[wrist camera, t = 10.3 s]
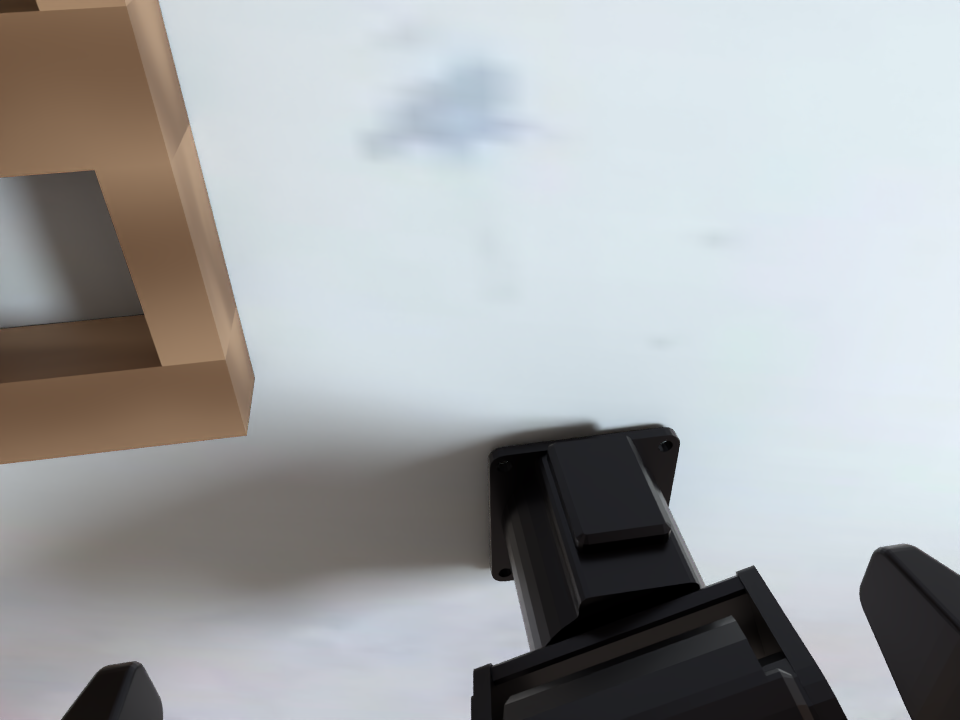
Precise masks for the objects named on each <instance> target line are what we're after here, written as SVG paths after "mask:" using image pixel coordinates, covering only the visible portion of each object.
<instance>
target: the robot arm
mask: <svg viewBox="0 0 960 720" xmlns="http://www.w3.org/2000/svg"><path fill="white" fill-rule="evenodd" d="M664 441H666V442H665V443H662V442H664ZM661 443H662V444H661ZM679 447H680V440H679V438H678V437H677V435H676V433H675V431H674V430H673V429H671V428H669V427H662V428H654V429H646V430H638V431H629V432H621V433H613V434H605V435H597V436H589V437H581V438H573V439H564V440H556V441H548V442H540V443H532V444H524V445H516V446H508V447H501V448H497V449H495V450H494V451H492V452H491V453H490V455H489V456H488V498H489V538H490V568H491V573H492V576H493V578H494V579H495V580H497V581H510V580H514V581H515V586H516V590H517V594H518V599H519V603H520V608H521V612H522V616H523V621H524V625H525V629H526V634H527V638H528V643H529V647H530V651H531V652H528V653H526V654H523V655H520V656H518V657H515V658H512V659H510V660H507V661H504V662H501V663H499V664H496V665H492V664H491V663H490V664H487V665H484V666H482V667H479V668H476V669H474V671H473V696H472V697H471V720H847V718H846V716H845V714H844V712H843V710H842V708H841V706H840V704H839V702H838V700H837V698H836V696H835V695H834V693H833V691H832V689H831V687H830V686H829V684H828V682H827V680H826V679H825V677H824V675H823V674H822V672H821V670H820V669H819V667H818V665H817V664H816V662H815V660H814V659H813V657H812V656H811V654H810V653H809V651H808V649H807V648H806V646H805V645H804V643H803V642H802V640H801V638H800V637H799V635H798V634H797V632H796V631H795V629H794V628H793V626H792V624H791V623H790V621H789V620H788V618H787V617H786V615H785V613H784V612H783V610H782V609H781V607H780V606H779V604H778V602H777V601H776V599H775V598H774V596H773V595H772V593H771V591H770V590H769V588H768V587H767V585H766V584H765V582H764V580H763V579H762V577H761V576H760V574H759V573H758V571H757V569H756V568H755V566H754V565H753V566H751V567H748V568H745V569H742V570H740V571H737V572H736V576H733V577H730V578H728V579H725V580H722V581H720V582H717V583H714V584H712V585H709V586H705V584H704V582H703V579H702V577H701V575H700V573H699V571H698V569H697V567H696V565H695V562H694V560H693V558H692V556H691V554H690V552H689V550H688V548H687V545H686V543H685V541H684V539H683V537H682V535H681V533H680V531H679V528H678V526H677V524H676V522H675V520H674V518H673V516H672V514H671V511H670V509H669V502H670V496H671V491H672V485H673V480H674V474H675V469H676V463H677V458H678V452H679ZM503 461H508V462H506V463H503V464H499V463H500V462H503ZM859 595H860V601H861V605H862V608H863V610H864V613H865V615H866V617H867V619H868V622H869V624H870V626H871V629H872V631H873V633H874V635H875V638H876V640H877V642H878V645H879V647H880V649H881V652H882V654H883V656H884V658H885V661H886V663H887V665H888V668H889V670H890V672H891V675H892V677H893V679H894V681H895V684H896V686H897V688H898V691H899V693H900V695H901V697H902V700H903V702H904V704H905V706H906V709H907V711H908V713H909V715H910V717H911V719H912V720H960V575H959V574H957V573H956V572H954V571H953V570H951V569H950V568H948V567H947V566H945V565H943V564H942V563H940V562H939V561H937V560H936V559H934V558H933V557H931V556H929V555H928V554H926V553H925V552H923V551H922V550H920V549H918V548H917V547H915V546H912V545H909V544H898V545H891V546H885V547H880V548H878V549H876V550H875V551H874V552H873V554H872V556H871V559H870V562H869V564H868V567H867V569H866V572H865V575H864V577H863V580H862V582H861V585H860V592H859ZM61 720H163V707H162V702H161V699H160V696H159V694H158V693H157V691H156V689H155V687H154V685H153V683H152V681H151V679H150V678H149V676H148V674H147V672H146V670H145V668H144V667H143V665H142V664H140V663H139V662H137V661H133V662H126V663H119V664H113V665H108V666H105V667H103V668H102V669H100V670H99V671H98V672H97V673H96V674H95V675H94V676H93V678H92V679H91V680H90V682H89V683H88V684H87V686H86V687H85V688H84V690H83V691H82V692H81V694H80V695H79V696H78V698H77V699H76V700H75V702H74V703H73V704H72V706H71V707H70V708H69V710H68V711H67V712H66V714H65V715H64V716H63V718H62V719H61Z"/></svg>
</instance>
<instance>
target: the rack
mask: <svg viewBox="0 0 960 720" xmlns="http://www.w3.org/2000/svg"><path fill="white" fill-rule="evenodd" d="M90 170H95V173H96V176H97V179H98V182H99V185H100V188H101V191H102V194H103V196H104V199H105V202H106V205H107V208H108V211H109V214H110V217H111V220H112V223H113V225H114V228H115V231H116V234H117V237H118V240H119V243H120V246H121V249H122V252H123V254H124V257H125V260H126V263H127V266H128V269H129V272H130V275H131V278H132V281H133V283H134V286H135V289H136V292H137V295H138V298H139V301H140V304H141V307H142V310H143V312H144V315H136V316H126V317H115V318H105V319H95V320H85V321H75V322H65V323H55V324H45V325H35V326H25V327H14V328H4V329H0V464H7V463H16V462H24V461H33V460H42V459H50V458H59V457H67V456H76V455H84V454H93V453H101V452H110V451H118V450H127V449H135V448H144V447H152V446H161V445H170V444H178V443H187V442H195V441H204V440H212V439H221V438H229V437H238V436H246V435H247V430H248V423H249V416H250V408H251V401H252V394H253V387H254V380H255V377H254V373H253V369H252V365H251V361H250V357H249V354H248V350H247V346H246V342H245V338H244V334H243V330H242V326H241V322H240V318H239V314H238V311H237V307H236V303H235V299H234V295H233V291H232V287H231V283H230V279H229V275H228V271H227V268H226V264H225V260H224V256H223V252H222V248H221V244H220V240H219V236H218V232H217V229H216V225H215V221H214V217H213V213H212V209H211V205H210V201H209V197H208V193H207V189H206V186H205V182H204V178H203V174H202V170H201V166H200V162H199V158H198V154H197V150H196V146H195V143H194V139H193V135H192V131H191V127H190V123H189V119H188V115H187V111H186V107H185V103H184V100H183V96H182V92H181V88H180V84H179V80H178V76H177V72H176V68H175V64H174V61H173V57H172V53H171V49H170V45H169V41H168V37H167V33H166V29H165V25H164V21H163V18H162V14H161V10H160V6H159V2H158V0H0V178H1V177H14V176H27V175H40V174H52V173H65V172H78V171H90Z"/></svg>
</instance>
